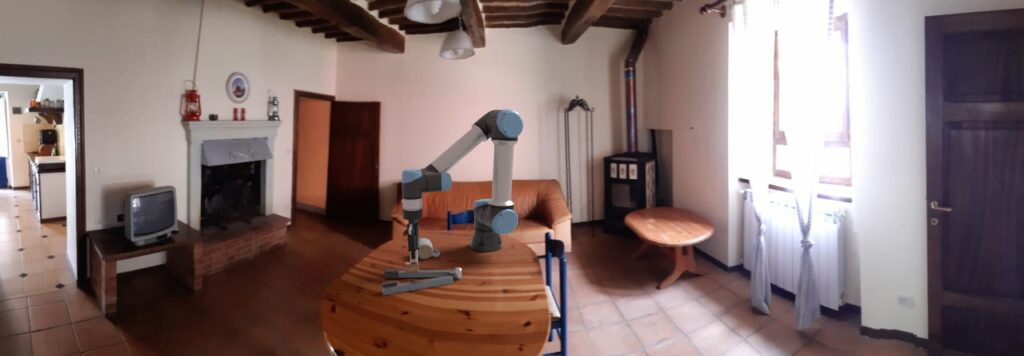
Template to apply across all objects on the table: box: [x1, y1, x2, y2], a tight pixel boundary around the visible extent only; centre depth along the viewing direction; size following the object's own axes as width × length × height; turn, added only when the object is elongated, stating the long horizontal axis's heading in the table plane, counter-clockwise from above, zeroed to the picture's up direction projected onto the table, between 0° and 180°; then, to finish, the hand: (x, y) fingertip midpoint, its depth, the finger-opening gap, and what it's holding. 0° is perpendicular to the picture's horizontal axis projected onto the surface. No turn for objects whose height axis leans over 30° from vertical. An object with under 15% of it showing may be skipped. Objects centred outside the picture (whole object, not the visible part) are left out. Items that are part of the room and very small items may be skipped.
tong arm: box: [383, 261, 463, 280], centre depth 155 cm, size 29×6×5 cm, turn 93°
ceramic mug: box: [417, 237, 441, 260], centre depth 178 cm, size 11×8×8 cm
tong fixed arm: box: [381, 275, 454, 296], centre depth 146 cm, size 25×4×3 cm, turn 115°
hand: (414, 266), depth 162 cm, fingers closed
